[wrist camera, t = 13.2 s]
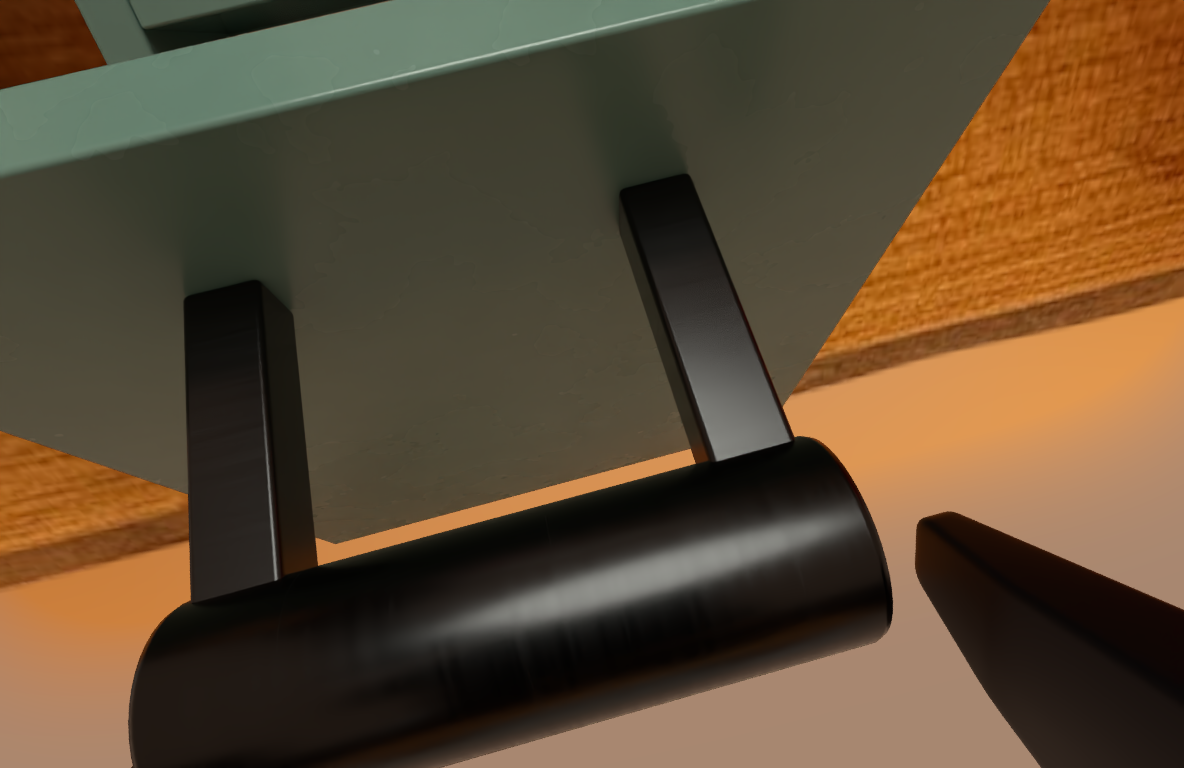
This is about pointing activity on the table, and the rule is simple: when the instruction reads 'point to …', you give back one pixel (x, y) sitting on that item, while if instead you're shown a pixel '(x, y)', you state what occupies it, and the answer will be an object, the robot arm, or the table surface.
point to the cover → (475, 347)
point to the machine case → (190, 21)
